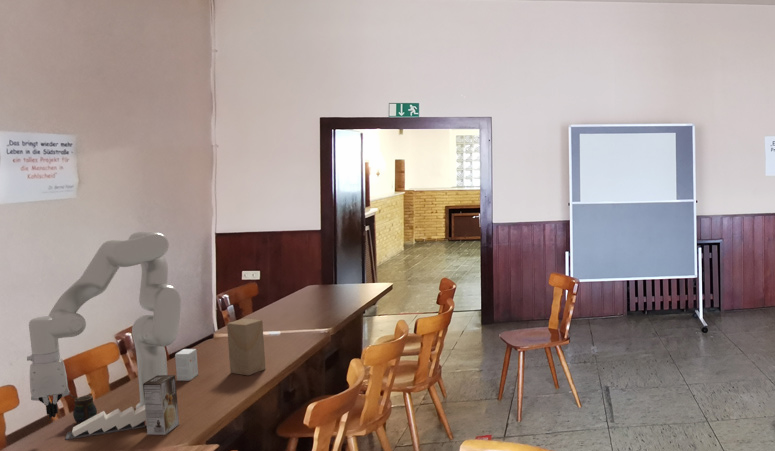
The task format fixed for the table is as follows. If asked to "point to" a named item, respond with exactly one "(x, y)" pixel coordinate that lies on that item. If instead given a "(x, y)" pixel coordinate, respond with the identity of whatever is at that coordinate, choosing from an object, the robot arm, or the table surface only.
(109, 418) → the domino
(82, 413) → the mate gourd
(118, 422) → the domino
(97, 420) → the domino
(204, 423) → the table surface
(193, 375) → the small box
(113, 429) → the mat
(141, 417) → the domino
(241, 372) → the wooden block
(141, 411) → the domino
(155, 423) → the coffee box
